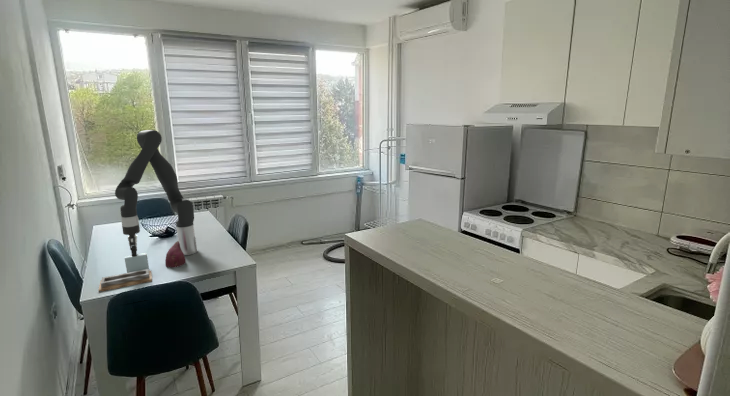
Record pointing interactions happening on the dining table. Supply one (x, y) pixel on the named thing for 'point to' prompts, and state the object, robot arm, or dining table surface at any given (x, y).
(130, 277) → the track board
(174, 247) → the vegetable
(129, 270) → the door panel
